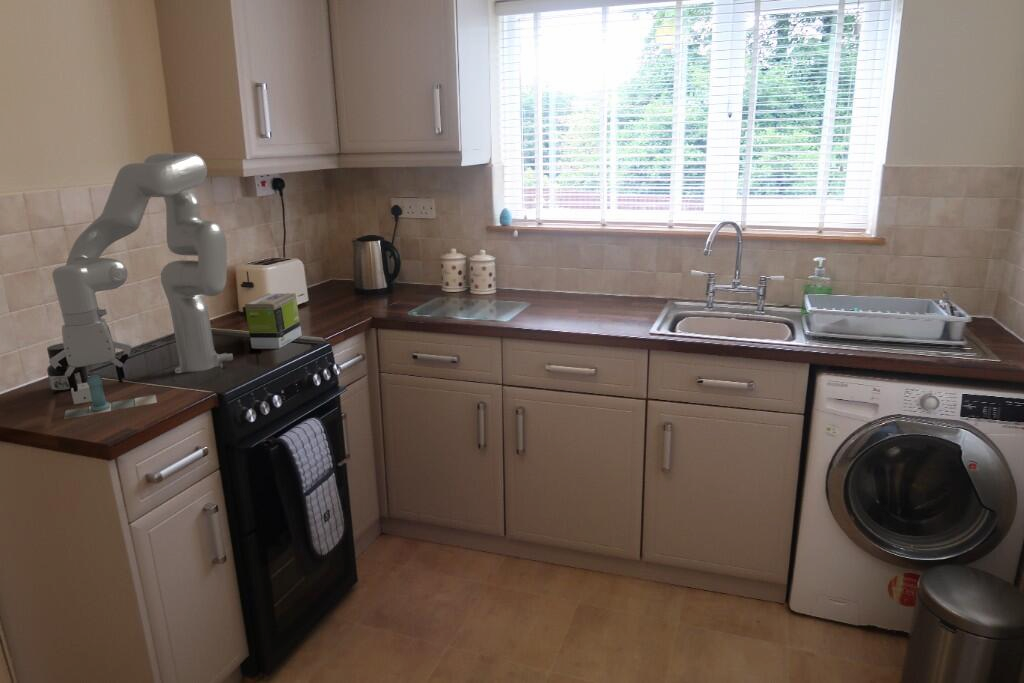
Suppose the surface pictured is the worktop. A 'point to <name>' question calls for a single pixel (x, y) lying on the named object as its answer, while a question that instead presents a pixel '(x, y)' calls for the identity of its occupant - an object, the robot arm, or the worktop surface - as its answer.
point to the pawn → (97, 394)
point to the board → (115, 406)
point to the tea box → (273, 320)
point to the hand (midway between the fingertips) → (98, 385)
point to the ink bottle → (58, 379)
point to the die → (81, 394)
